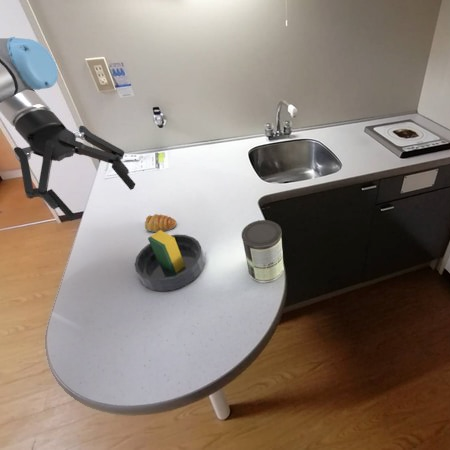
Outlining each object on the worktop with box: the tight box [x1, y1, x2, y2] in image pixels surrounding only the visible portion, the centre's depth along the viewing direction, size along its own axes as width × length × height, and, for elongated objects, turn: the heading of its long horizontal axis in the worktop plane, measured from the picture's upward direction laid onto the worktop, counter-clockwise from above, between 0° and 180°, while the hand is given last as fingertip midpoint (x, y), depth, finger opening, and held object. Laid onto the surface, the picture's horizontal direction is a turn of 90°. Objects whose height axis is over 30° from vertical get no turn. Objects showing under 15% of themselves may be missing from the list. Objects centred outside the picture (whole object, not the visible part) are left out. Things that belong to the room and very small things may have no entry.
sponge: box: [147, 230, 185, 274], centre depth 85 cm, size 4×6×11 cm, turn 57°
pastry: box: [144, 213, 177, 233], centre depth 101 cm, size 9×7×4 cm
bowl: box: [134, 234, 205, 292], centre depth 87 cm, size 18×18×5 cm
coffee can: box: [241, 219, 285, 284], centre depth 83 cm, size 10×10×14 cm
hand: (105, 201), depth 66 cm, fingers open, 13 cm apart
